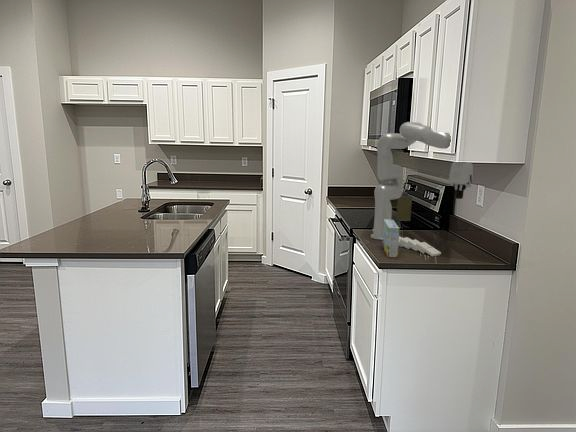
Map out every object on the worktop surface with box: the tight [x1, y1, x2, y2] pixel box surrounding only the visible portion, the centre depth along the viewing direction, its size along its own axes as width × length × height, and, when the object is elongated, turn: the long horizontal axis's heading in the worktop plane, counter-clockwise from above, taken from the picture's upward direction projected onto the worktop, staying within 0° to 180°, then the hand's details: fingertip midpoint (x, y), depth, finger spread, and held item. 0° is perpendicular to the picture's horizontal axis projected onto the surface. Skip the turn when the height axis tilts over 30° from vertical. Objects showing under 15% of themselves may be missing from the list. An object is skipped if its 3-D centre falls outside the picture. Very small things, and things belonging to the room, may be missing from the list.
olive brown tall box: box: [395, 191, 413, 222], centre depth 292 cm, size 11×10×20 cm
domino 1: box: [399, 235, 412, 250], centre depth 217 cm, size 1×6×11 cm
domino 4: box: [416, 241, 442, 257], centre depth 204 cm, size 1×6×11 cm
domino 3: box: [408, 238, 427, 255], centre depth 209 cm, size 1×6×11 cm
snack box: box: [382, 219, 401, 258], centre depth 204 cm, size 21×6×15 cm, turn 174°
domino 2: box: [400, 236, 420, 252], centre depth 213 cm, size 1×6×11 cm
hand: (459, 198), depth 194 cm, fingers closed
